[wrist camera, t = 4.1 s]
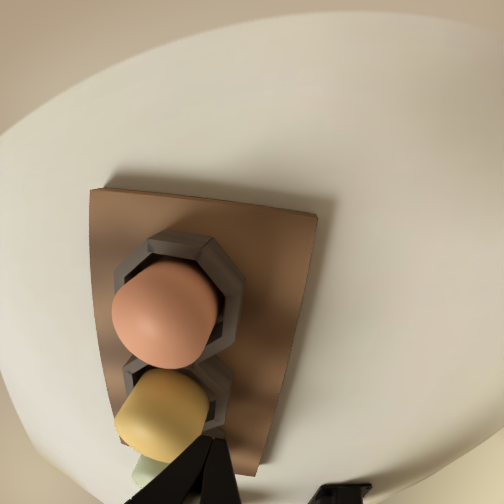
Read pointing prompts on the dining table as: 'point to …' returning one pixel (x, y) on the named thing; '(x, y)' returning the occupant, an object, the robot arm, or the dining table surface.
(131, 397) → the button ochre
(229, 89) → the dining table surface
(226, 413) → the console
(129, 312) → the button terracotta
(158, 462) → the button sage
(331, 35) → the dining table surface
